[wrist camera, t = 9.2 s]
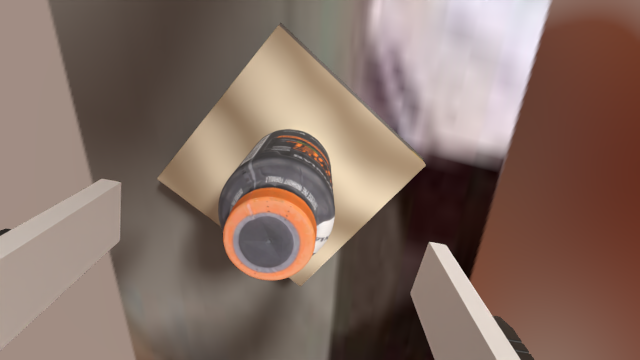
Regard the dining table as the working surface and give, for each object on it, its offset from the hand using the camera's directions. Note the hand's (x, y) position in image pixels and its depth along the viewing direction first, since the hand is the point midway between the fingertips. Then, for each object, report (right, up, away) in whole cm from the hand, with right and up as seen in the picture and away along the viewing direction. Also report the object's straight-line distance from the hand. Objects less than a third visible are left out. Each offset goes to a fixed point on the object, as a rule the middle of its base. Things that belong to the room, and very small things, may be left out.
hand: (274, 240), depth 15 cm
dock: (0, +4, +13) cm, 14 cm away
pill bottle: (0, +3, +11) cm, 11 cm away
